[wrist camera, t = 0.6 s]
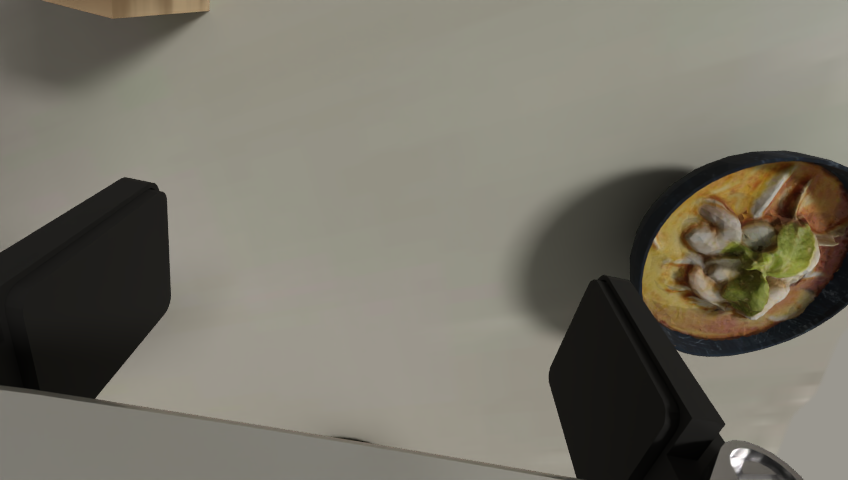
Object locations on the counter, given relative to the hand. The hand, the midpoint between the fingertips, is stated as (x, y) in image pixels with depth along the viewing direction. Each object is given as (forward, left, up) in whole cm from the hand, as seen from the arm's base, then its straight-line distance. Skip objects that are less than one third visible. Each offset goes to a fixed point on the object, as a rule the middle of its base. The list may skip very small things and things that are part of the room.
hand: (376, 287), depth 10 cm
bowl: (+6, +27, -30) cm, 41 cm away
